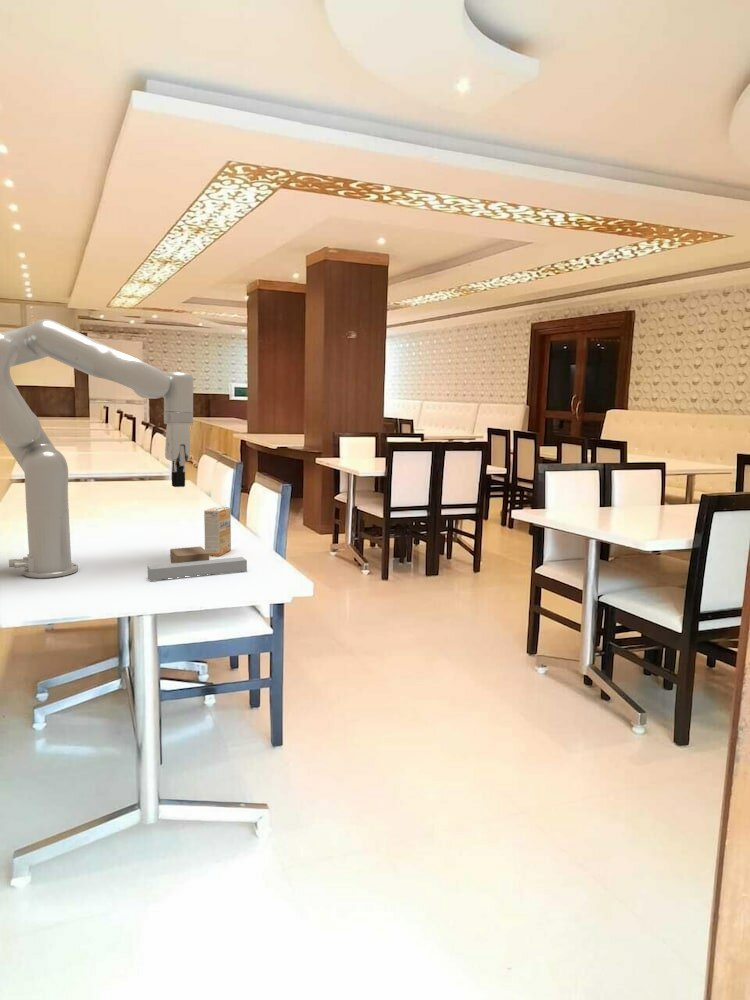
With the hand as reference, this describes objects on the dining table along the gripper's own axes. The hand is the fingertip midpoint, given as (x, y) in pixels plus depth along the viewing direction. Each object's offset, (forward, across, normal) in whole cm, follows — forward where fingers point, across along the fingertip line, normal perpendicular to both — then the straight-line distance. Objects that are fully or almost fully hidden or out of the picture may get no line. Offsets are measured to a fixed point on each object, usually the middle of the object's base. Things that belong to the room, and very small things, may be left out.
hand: (178, 486), depth 187 cm
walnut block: (+21, +12, 0) cm, 24 cm away
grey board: (+20, +19, +1) cm, 28 cm away
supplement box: (+20, -3, +12) cm, 24 cm away
